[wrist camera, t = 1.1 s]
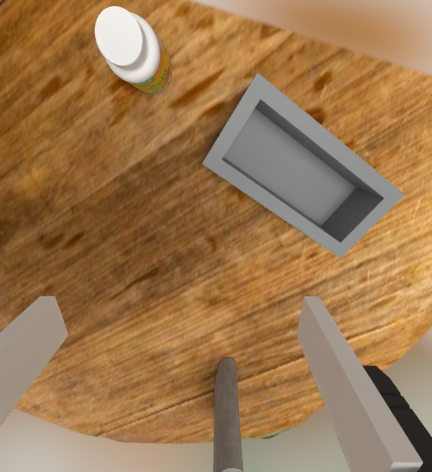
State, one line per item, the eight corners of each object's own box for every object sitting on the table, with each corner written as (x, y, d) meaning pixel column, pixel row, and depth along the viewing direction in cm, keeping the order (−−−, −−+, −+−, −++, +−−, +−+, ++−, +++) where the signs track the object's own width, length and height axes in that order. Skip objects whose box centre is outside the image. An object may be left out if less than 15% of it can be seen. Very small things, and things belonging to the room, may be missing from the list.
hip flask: (229, 404, 54) (234, 541, 36) (212, 403, 54) (208, 540, 36) (236, 357, 48) (246, 494, 30) (216, 356, 48) (215, 493, 29)
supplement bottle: (149, 104, 29) (119, 90, 21) (119, 63, 28) (72, 28, 19) (181, 74, 28) (163, 45, 19) (151, 29, 26) (117, -25, 18)
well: (205, 158, 32) (201, 163, 26) (249, 86, 29) (257, 72, 22) (319, 236, 37) (340, 258, 30) (368, 183, 33) (404, 194, 27)
